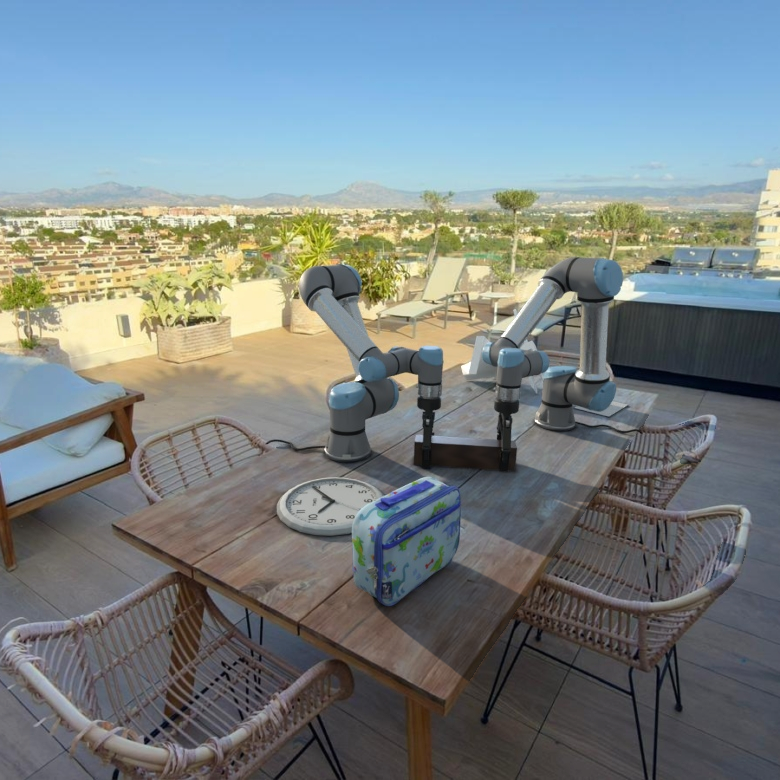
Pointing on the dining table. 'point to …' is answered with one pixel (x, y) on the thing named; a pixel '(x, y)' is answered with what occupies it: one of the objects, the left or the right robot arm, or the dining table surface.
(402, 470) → the dining table surface
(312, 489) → the wall clock
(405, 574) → the lunch box
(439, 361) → the left robot arm
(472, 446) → the walnut beam
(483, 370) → the white plastic object
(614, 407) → the invitation card
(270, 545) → the dining table surface
